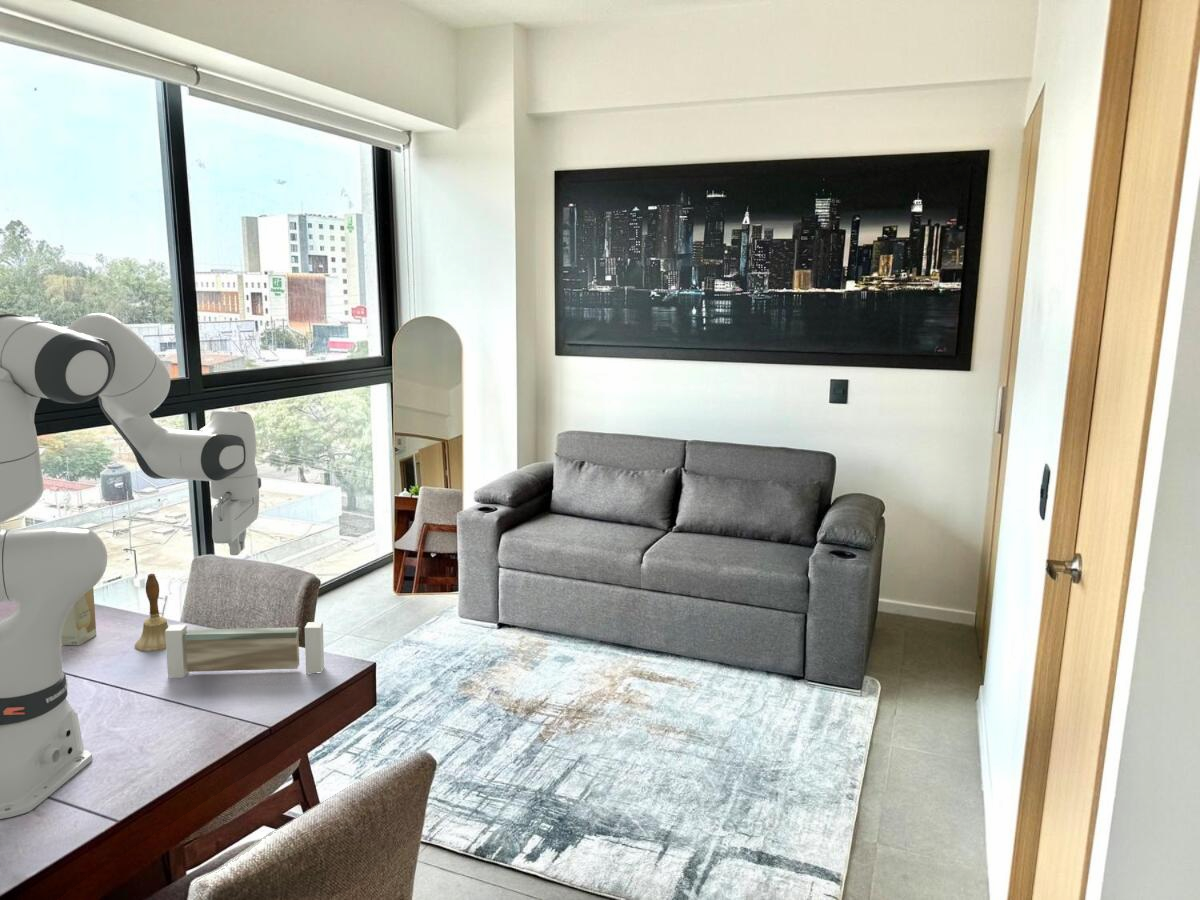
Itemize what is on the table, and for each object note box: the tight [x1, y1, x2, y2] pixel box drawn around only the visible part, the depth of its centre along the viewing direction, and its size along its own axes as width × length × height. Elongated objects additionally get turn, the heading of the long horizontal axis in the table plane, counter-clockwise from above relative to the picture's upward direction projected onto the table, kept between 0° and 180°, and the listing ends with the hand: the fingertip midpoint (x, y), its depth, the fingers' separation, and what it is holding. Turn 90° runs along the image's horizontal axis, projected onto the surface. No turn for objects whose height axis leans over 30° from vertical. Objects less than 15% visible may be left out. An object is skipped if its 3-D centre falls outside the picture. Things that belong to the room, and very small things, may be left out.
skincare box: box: [61, 587, 97, 646], centre depth 180 cm, size 6×4×12 cm
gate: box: [185, 626, 300, 673], centre depth 167 cm, size 3×21×8 cm, turn 98°
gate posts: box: [165, 621, 325, 679], centre depth 167 cm, size 3×30×10 cm, turn 98°
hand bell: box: [134, 573, 169, 652], centre depth 179 cm, size 8×8×16 cm
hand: (237, 552), depth 171 cm, fingers closed
